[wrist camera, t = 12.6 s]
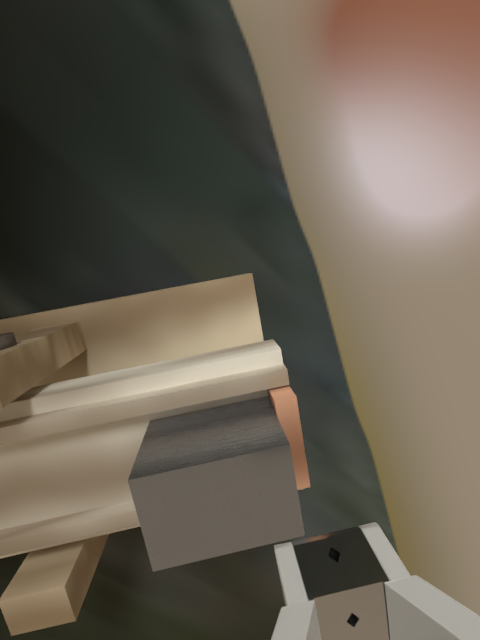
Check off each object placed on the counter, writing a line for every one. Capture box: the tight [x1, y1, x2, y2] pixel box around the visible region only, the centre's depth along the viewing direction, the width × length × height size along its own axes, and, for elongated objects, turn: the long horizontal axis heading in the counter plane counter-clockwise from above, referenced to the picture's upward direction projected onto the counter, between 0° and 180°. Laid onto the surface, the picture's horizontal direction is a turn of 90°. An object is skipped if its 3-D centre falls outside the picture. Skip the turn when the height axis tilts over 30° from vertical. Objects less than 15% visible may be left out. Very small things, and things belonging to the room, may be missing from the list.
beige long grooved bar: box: [0, 339, 310, 559], centre depth 17 cm, size 8×27×6 cm, turn 100°
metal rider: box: [128, 396, 305, 572], centre depth 14 cm, size 4×6×4 cm, turn 100°
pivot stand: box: [0, 273, 264, 636], centre depth 19 cm, size 15×27×10 cm, turn 100°
